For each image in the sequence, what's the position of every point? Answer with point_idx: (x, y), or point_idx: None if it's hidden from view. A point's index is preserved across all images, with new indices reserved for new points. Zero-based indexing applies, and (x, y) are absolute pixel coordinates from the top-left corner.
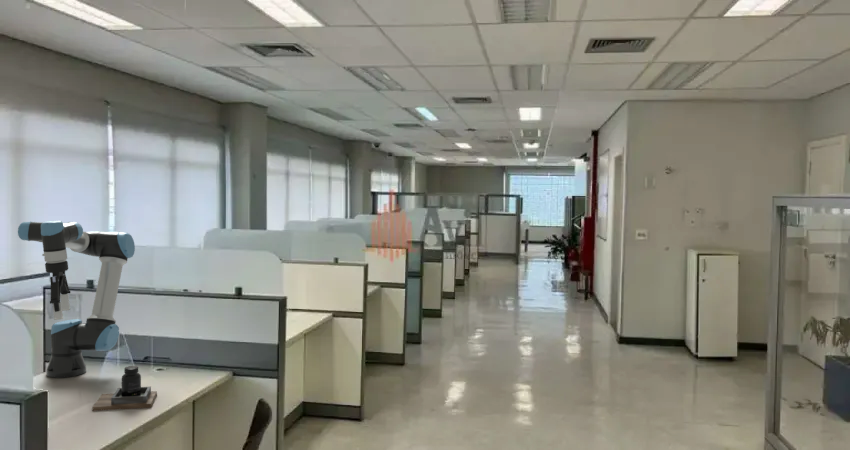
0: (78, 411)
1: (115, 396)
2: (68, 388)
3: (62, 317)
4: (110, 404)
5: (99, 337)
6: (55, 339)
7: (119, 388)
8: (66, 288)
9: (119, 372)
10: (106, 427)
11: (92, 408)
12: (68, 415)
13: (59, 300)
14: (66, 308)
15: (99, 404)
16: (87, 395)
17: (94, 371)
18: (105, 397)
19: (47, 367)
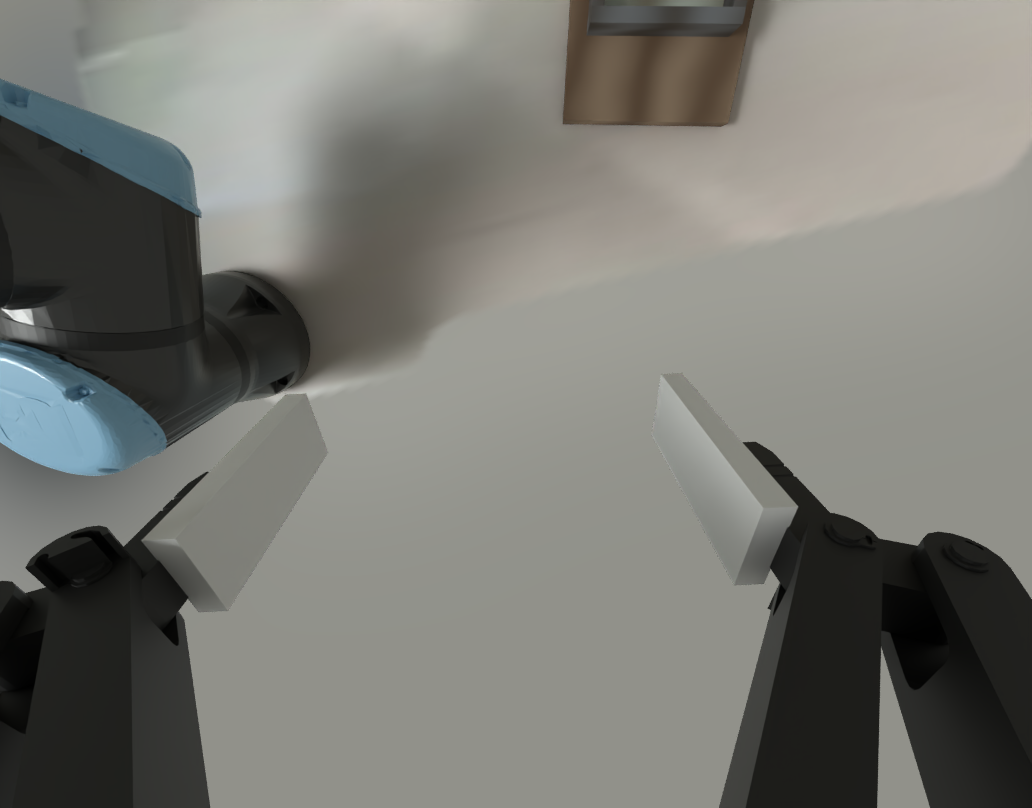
0: (704, 183)
1: (714, 7)
2: (428, 285)
3: (683, 380)
4: (725, 40)
5: (155, 184)
6: (191, 420)
7: (600, 10)
8: (97, 666)
9: (213, 120)
10: (958, 9)
11: (726, 123)
12: (736, 210)
13: (875, 543)
14: (305, 431)
15: (706, 97)
16: (521, 193)
17: (215, 238)
18: (618, 90)
19: (263, 397)
